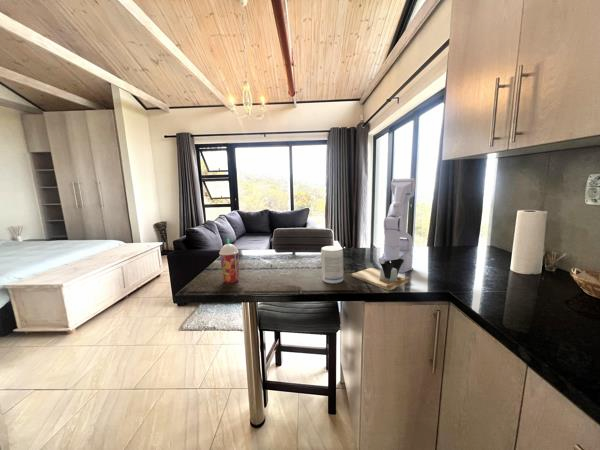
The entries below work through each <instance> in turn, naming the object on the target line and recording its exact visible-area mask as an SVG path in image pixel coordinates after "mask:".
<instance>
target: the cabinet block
mask: <svg viewBox="0 0 600 450" xmlns="http://www.w3.org/2000/svg"><path fill="white" fill-rule="evenodd" d="M380 270H381V271H380V278H382V279H385V280H388V281H391V282H394V281H396V280H397V276H398V275H397V269H395V268H393V267H392V270H391V277H390V279H388V278H385V276H384V272H383V269H382V267H381V268H380Z"/></svg>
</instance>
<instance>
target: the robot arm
mask: <svg viewBox="0 0 600 450" xmlns="http://www.w3.org/2000/svg"><path fill="white" fill-rule="evenodd" d="M415 189H416V179H415V178H414V177H412V178H410V177H409V178H393V179H392V180H391V183H390V190H391V193H392V195H393V202H392V203H391V204H390V205H389V206H388V207H389V208H388V211H387V216H386V217H384V220H383V229H384V235H385V236H384V237H385V238H384V253H383V254H382V256H381V257H379V258H378V264H379V265H380V266H381V268H382V269H383V272H384V276H385V278H388V279H390V277H391V270H392V267H393V268H395V269H397V276H399V273H400V274H403V273H406V272H409V271H411V270H414V268H413V267H412V263H413V256H412V255H413V254H412V253H411V252H412V250H413V237H412V235H411V234H409V233H408V232H407V227H408V216H409V215H408V214H409V213H408V212H409V203H410V199H411V198H413V197H414V195H415V193H416V192H415Z"/></svg>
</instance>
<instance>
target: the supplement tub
mask: <svg viewBox="0 0 600 450" xmlns="http://www.w3.org/2000/svg"><path fill="white" fill-rule="evenodd" d="M343 249H344V248H343V247H342V246H338V245H325V246H322V247H321V249H320V252H321V253H320V258H321V263H320V264H321V280H322V281H323V282H325V283H328V284H339V283H342V281H343V280H344V251H343Z"/></svg>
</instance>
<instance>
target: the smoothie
mask: <svg viewBox="0 0 600 450" xmlns="http://www.w3.org/2000/svg"><path fill="white" fill-rule="evenodd" d="M239 252H240V250H238V247H236V245H235V244H232V243H230V237H228V238H227V243H226V244H224V245H223V246H222V247H221V248H220V250H219V252H218V253H219V258H220V259H219V261H220V267H221V272H222V279H223V280H224V283H226V284H234V283H236V282H238V280H239V278H240V277H239V275H240V272H239V268H240V267H239V265H240V262H239V260H240V259H239V257H240V256H239Z"/></svg>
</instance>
